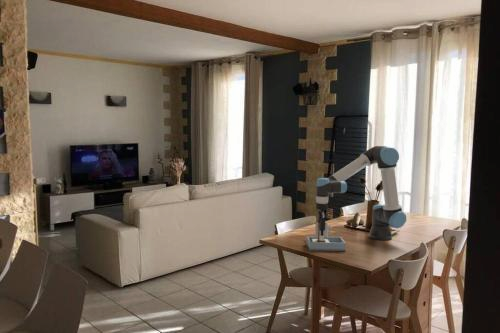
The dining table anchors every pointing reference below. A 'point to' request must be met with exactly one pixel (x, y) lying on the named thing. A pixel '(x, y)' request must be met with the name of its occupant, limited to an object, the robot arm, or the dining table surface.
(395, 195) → the robot arm
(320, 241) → the peg
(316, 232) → the mug
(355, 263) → the dining table surface
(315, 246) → the crate
